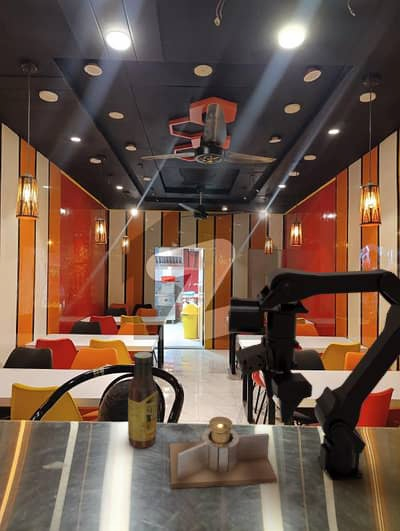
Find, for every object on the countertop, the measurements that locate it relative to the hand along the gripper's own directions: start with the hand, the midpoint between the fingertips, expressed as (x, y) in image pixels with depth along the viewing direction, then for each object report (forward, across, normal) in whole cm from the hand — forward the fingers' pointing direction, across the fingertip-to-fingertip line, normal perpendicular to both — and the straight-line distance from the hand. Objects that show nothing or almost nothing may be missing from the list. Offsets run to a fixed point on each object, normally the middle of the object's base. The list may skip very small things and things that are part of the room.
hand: (276, 409), depth 72 cm
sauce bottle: (+12, -10, -27) cm, 31 cm away
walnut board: (+12, -1, -11) cm, 16 cm away
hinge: (+11, 0, -10) cm, 15 cm away
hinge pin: (+11, -1, -11) cm, 16 cm away
